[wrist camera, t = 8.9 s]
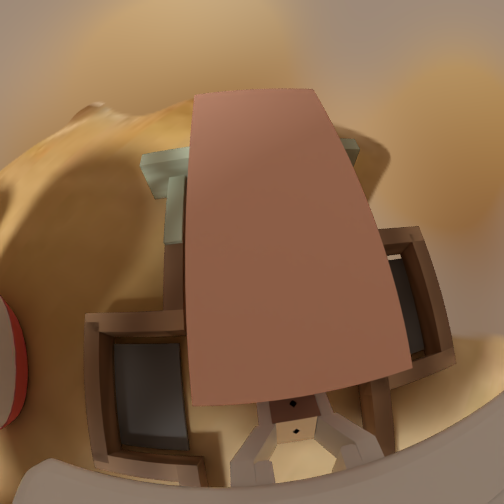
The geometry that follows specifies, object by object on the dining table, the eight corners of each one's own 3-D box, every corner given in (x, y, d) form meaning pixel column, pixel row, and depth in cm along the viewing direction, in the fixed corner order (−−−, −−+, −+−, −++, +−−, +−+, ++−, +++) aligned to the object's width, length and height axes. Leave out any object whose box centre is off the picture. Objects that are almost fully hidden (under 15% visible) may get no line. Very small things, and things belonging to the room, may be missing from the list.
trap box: (131, 540, 8) (110, 562, 5) (117, 194, 21) (98, 164, 18) (442, 494, 9) (471, 505, 6) (379, 172, 22) (394, 141, 19)
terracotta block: (228, 389, 15) (192, 406, 6) (215, 208, 21) (194, 95, 12) (326, 376, 15) (412, 367, 6) (293, 201, 21) (313, 89, 12)
